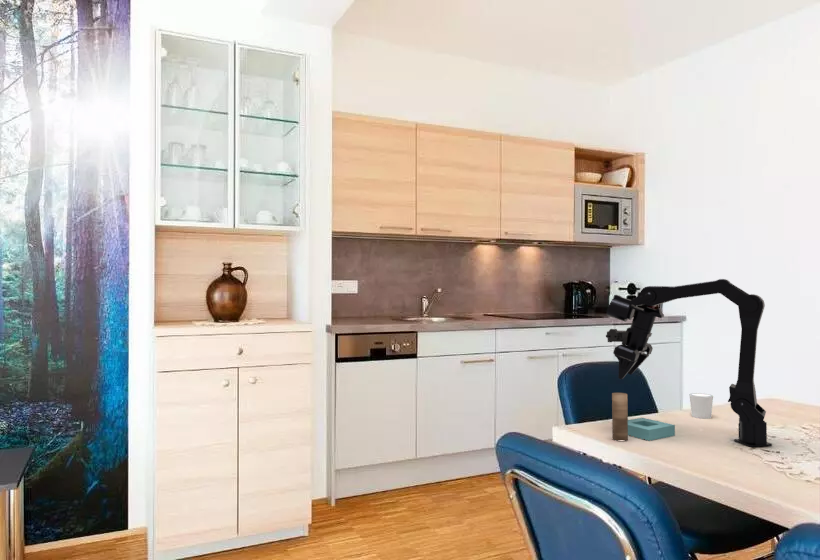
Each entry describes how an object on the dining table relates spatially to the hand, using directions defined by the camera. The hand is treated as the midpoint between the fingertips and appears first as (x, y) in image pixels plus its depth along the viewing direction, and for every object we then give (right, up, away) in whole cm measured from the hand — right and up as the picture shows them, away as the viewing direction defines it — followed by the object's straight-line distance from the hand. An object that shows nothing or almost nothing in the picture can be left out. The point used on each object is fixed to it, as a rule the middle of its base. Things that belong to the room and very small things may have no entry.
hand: (624, 376), depth 178 cm
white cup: (+30, -15, +14) cm, 36 cm away
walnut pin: (-6, -15, -14) cm, 21 cm away
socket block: (+3, -15, -8) cm, 17 cm away
